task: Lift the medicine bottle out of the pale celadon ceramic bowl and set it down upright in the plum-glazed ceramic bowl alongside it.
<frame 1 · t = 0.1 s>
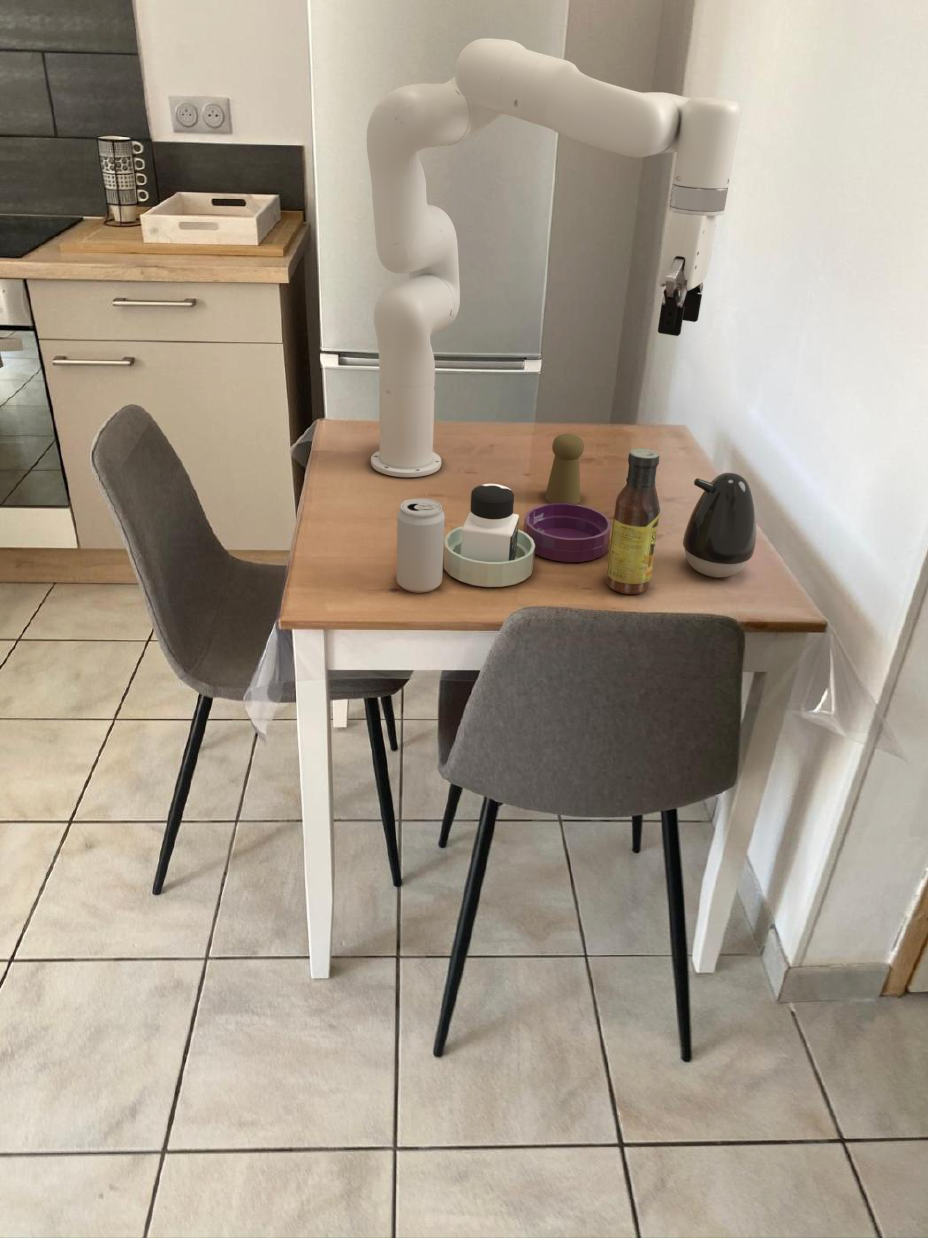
hand: (677, 326, 140), 31 cm above the table, tool pointing down, fingers open, 9 cm apart
sauce bottle: (626, 586, 137), on the table
olive chess pawn: (562, 499, 162), on the table
plum bowl: (565, 544, 147), on the table
beverage can: (419, 585, 134), on the table
pump dispenser: (712, 570, 142), on the table
medicine bottle: (488, 566, 140), resting on pale bowl
pale bowl: (488, 567, 140), on the table
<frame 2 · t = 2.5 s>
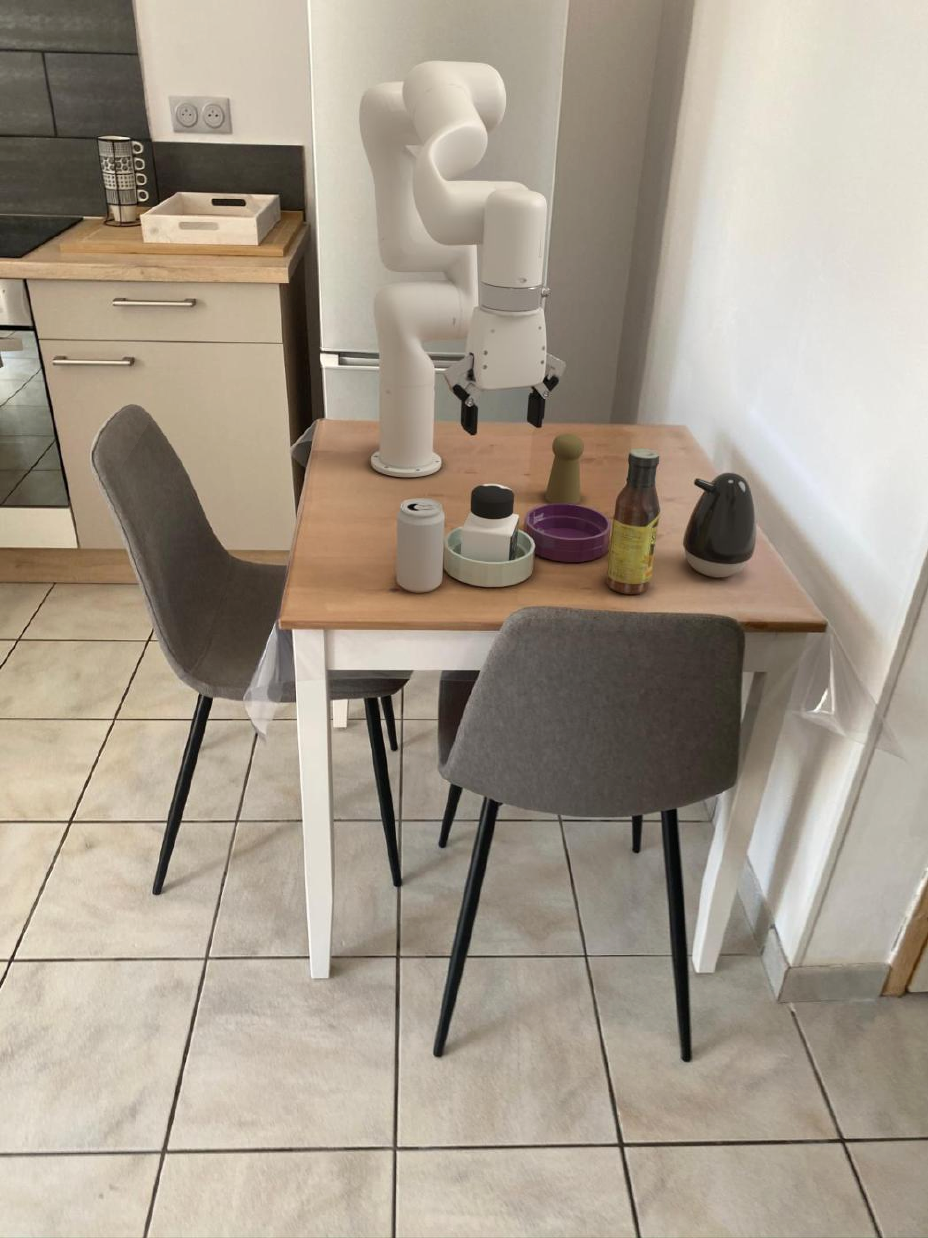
hand: (502, 428, 129), 21 cm above the table, tool pointing down, fingers open, 9 cm apart
nothing on the table moved.
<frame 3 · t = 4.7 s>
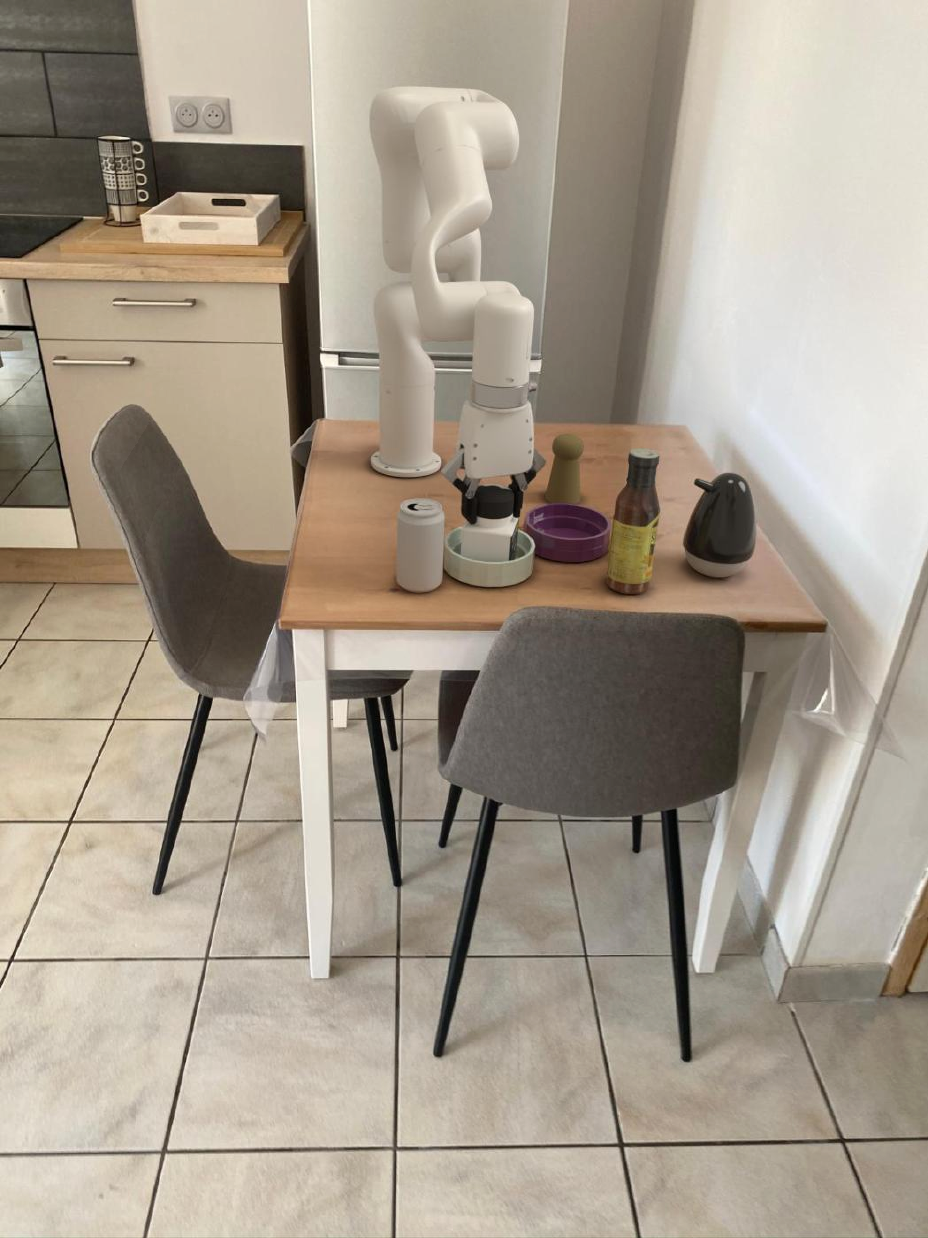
hand: (491, 516, 135), 8 cm above the table, tool pointing down, fingers closed on medicine bottle, 6 cm apart
medicine bottle: (488, 566, 140), resting on pale bowl, touching gripper
everything else where it was.
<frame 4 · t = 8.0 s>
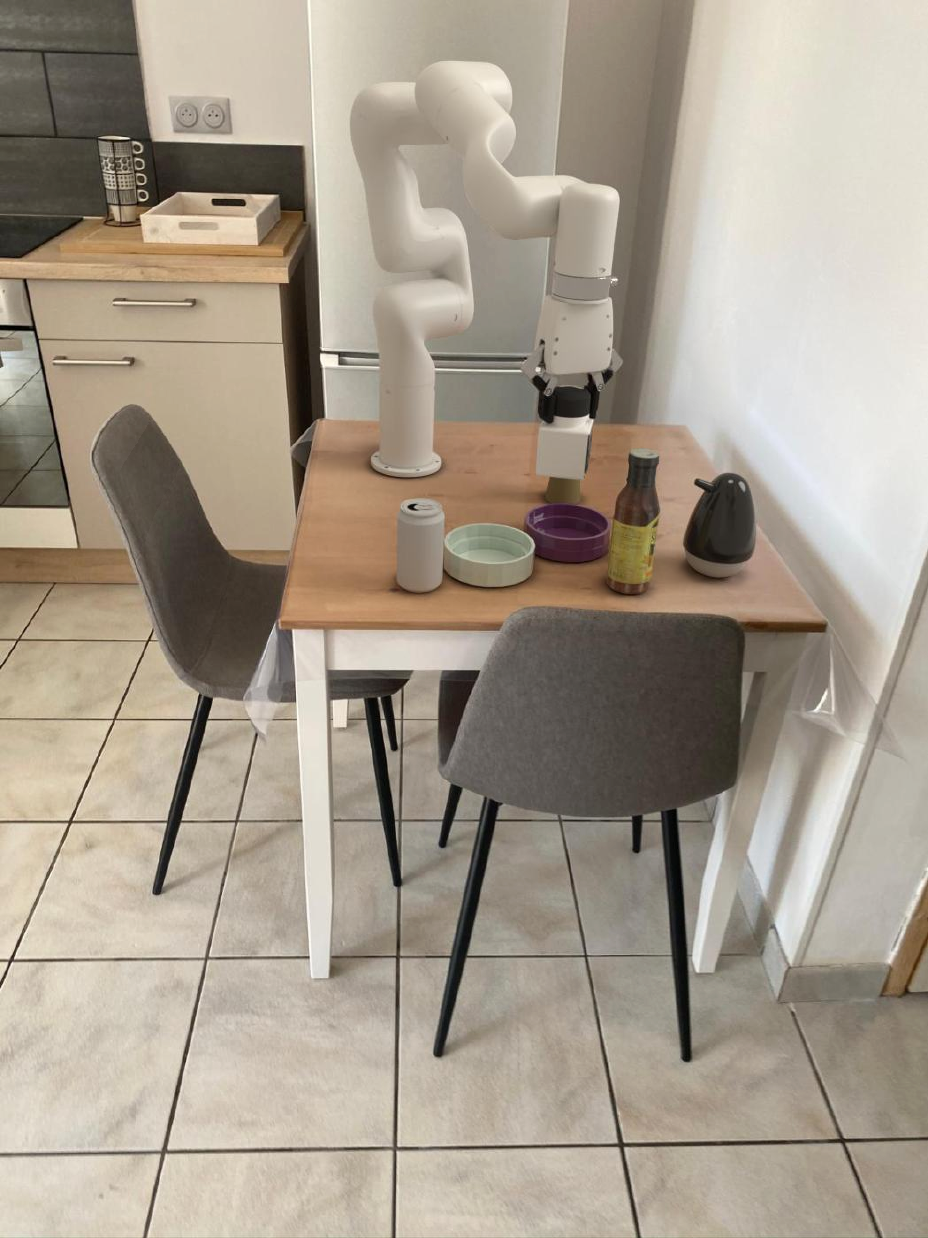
hand: (567, 417, 136), 21 cm above the table, tool pointing down, fingers closed on medicine bottle, 6 cm apart
medicine bottle: (562, 471, 139), point 12 cm above the table, touching gripper
everything else where it was.
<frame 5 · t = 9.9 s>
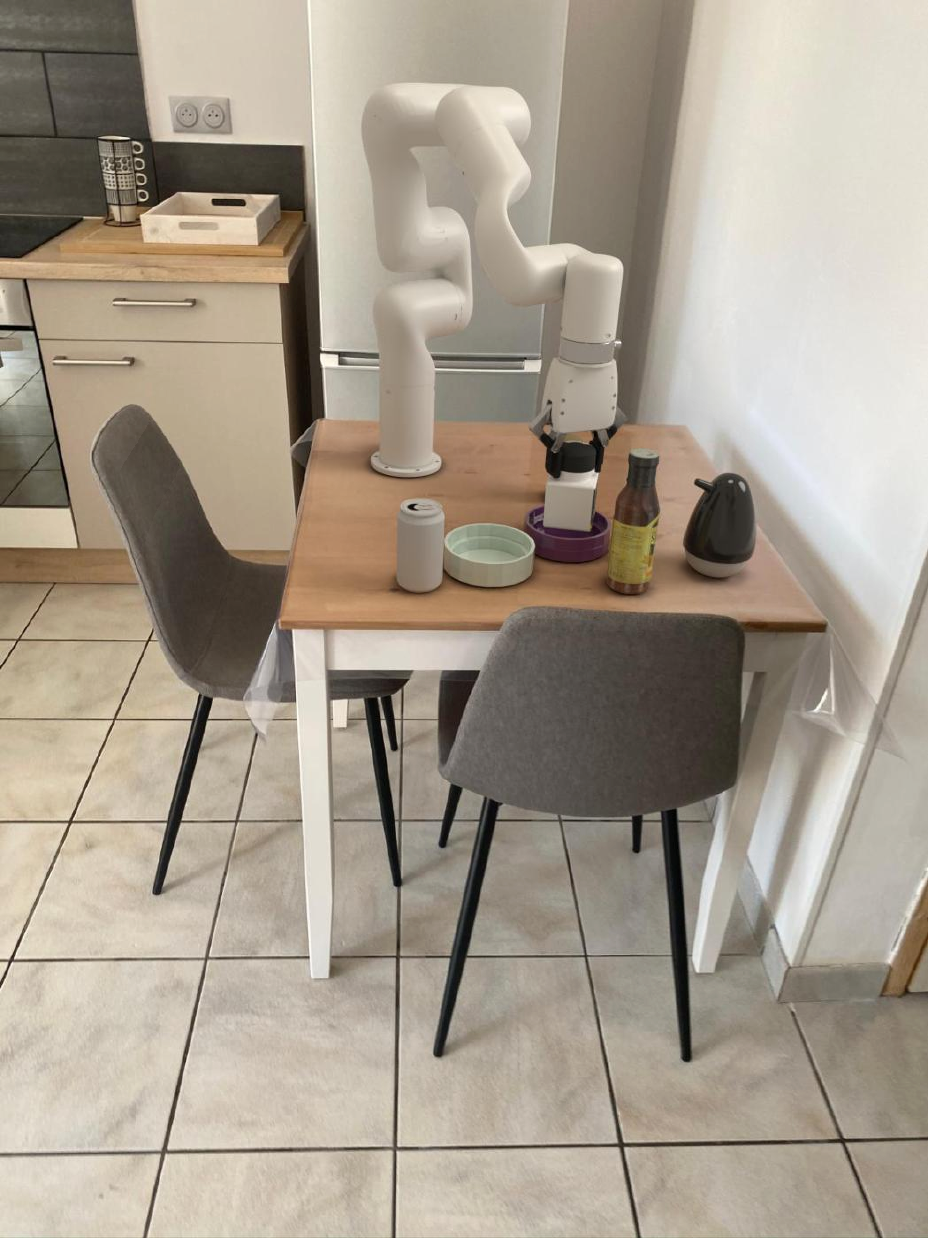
hand: (573, 471, 141), 12 cm above the table, tool pointing down, fingers closed on medicine bottle, 6 cm apart
medicine bottle: (568, 522, 145), point 4 cm above the table, touching gripper
everything else where it was.
when the fingers open (8 cm above the table, at t = 11.3 s): medicine bottle stays where it is, resting on plum bowl.
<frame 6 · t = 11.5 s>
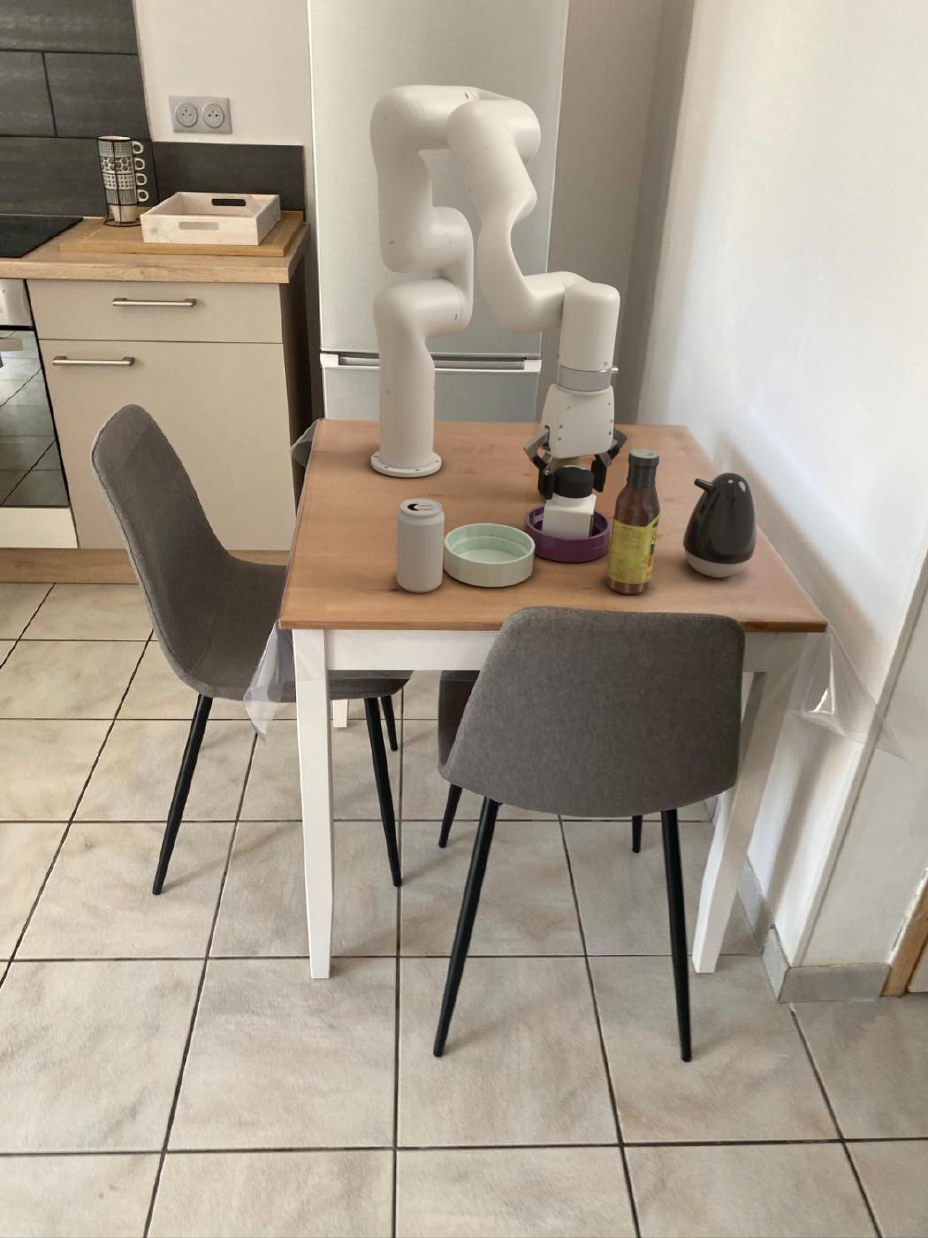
hand: (570, 492, 143), 9 cm above the table, tool pointing down, fingers open, 8 cm apart
medicine bottle: (566, 544, 147), resting on plum bowl
everything else where it was.
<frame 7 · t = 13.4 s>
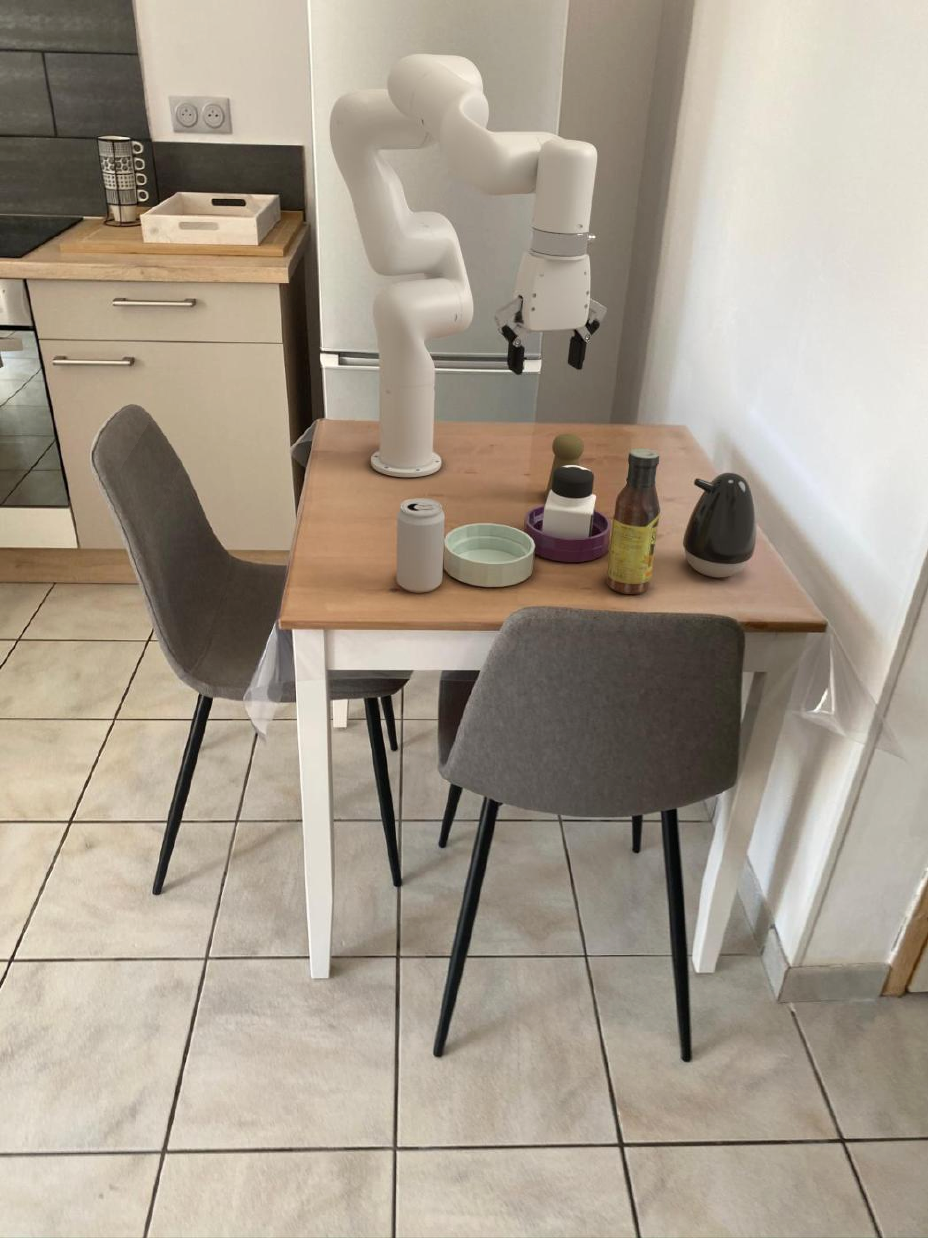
hand: (545, 369, 137), 26 cm above the table, tool pointing down, fingers open, 9 cm apart
nothing on the table moved.
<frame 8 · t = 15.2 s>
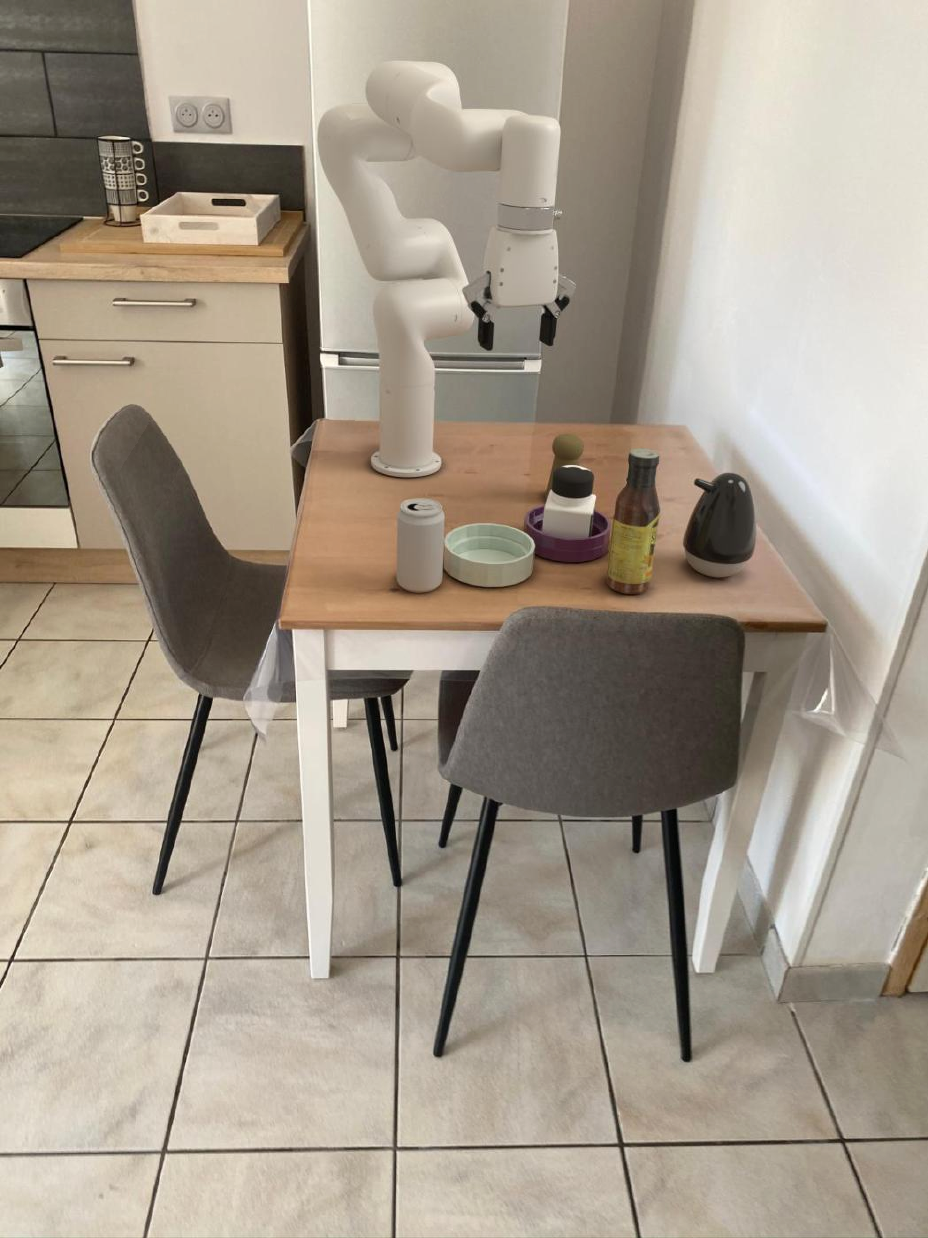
hand: (516, 345, 138), 28 cm above the table, tool pointing down, fingers open, 9 cm apart
nothing on the table moved.
at the end: medicine bottle 0.3 cm off-centre in the plum bowl, point 0.1 cm above the plum bowl's base; medicine bottle tilted 0°; the gripper is holding nothing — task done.
